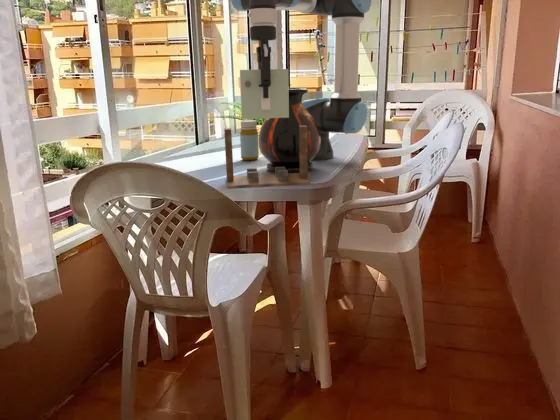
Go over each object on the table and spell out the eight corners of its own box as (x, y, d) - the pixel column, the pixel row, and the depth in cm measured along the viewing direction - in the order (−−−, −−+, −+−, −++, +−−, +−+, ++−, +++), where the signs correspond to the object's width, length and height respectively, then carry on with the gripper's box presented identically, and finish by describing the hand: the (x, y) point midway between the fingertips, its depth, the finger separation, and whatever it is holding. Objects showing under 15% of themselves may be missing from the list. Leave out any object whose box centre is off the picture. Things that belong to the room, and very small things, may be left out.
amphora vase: (266, 163, 186) (264, 87, 178) (323, 164, 183) (323, 86, 175) (253, 176, 166) (250, 90, 158) (317, 177, 162) (317, 89, 154)
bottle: (239, 160, 194) (238, 121, 190) (243, 157, 201) (241, 119, 197) (257, 160, 193) (255, 121, 189) (260, 157, 200) (258, 119, 196)
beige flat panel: (287, 116, 151) (286, 68, 147) (289, 117, 147) (288, 68, 143) (241, 118, 149) (239, 69, 145) (242, 119, 145) (240, 69, 141)
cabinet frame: (303, 177, 162) (302, 123, 157) (310, 186, 150) (310, 128, 145) (226, 181, 159) (223, 126, 154) (228, 190, 147) (225, 131, 142)
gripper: (247, 28, 149) (250, 107, 155) (252, 23, 133) (255, 111, 140) (272, 27, 150) (274, 106, 156) (279, 23, 134) (281, 110, 141)
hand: (265, 108), depth 148 cm, fingers closed on beige flat panel, 3 cm apart
